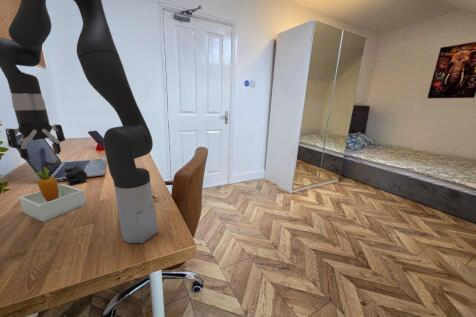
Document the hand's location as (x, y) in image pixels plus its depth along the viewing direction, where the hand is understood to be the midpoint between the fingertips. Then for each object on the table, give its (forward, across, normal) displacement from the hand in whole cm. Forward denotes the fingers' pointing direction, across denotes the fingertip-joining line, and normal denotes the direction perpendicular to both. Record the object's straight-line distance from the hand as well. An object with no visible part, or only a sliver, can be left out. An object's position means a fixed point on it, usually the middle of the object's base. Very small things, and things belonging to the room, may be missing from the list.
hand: (42, 156), depth 73 cm
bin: (+20, 0, 0) cm, 20 cm away
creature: (+21, +19, -26) cm, 39 cm away
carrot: (+19, 0, 0) cm, 19 cm away
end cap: (+20, +19, +21) cm, 35 cm away
